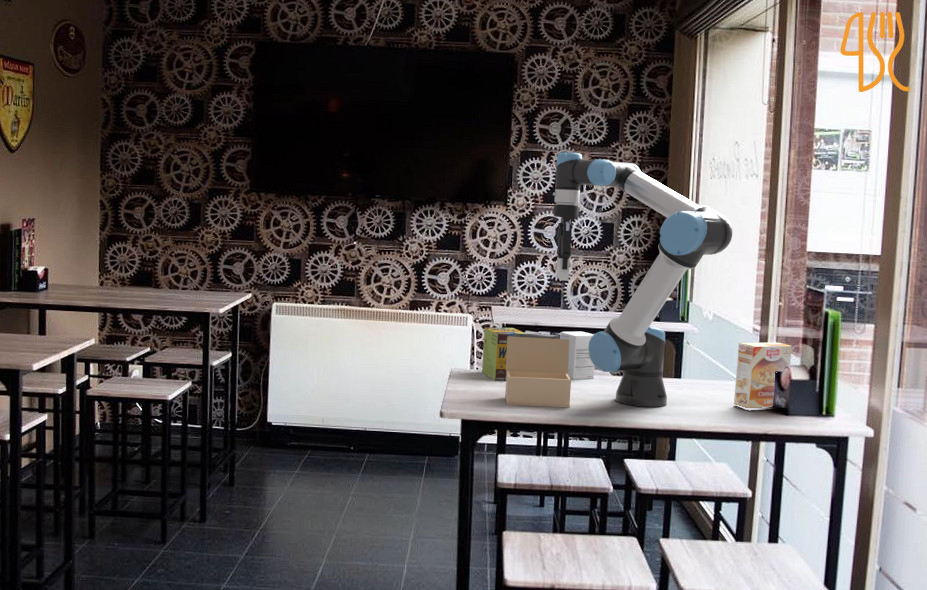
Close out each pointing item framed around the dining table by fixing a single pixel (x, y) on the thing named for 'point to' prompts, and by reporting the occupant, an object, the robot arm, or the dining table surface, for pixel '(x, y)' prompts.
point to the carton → (537, 389)
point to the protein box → (496, 351)
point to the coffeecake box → (759, 372)
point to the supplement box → (579, 355)
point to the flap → (537, 353)
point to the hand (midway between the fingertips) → (562, 279)
